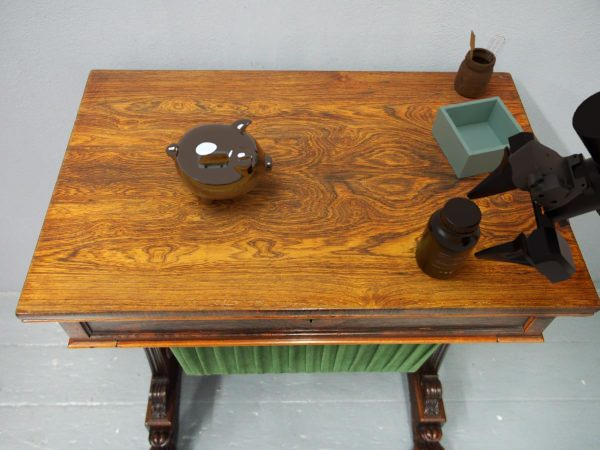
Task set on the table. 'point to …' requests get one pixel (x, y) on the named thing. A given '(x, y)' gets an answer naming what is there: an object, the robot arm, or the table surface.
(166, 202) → the table surface
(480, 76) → the utensil holder
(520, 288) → the table surface
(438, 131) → the open storage bin
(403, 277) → the table surface
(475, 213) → the supplement bottle
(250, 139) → the piggy bank
